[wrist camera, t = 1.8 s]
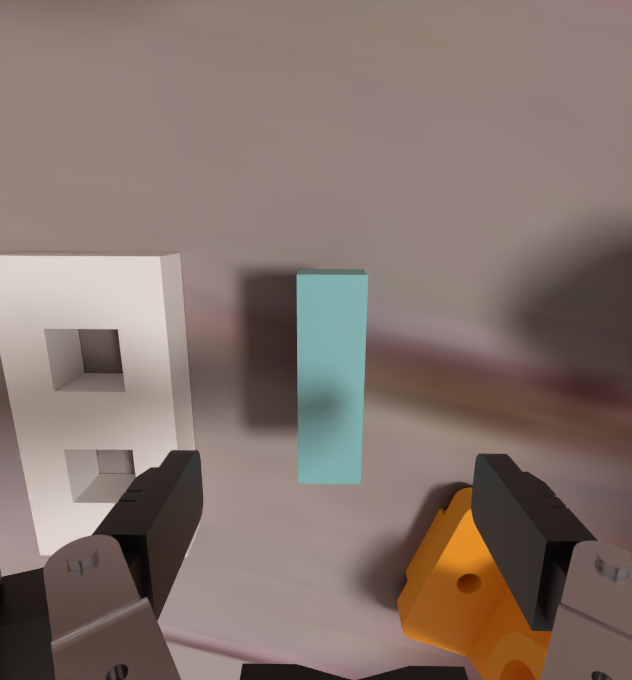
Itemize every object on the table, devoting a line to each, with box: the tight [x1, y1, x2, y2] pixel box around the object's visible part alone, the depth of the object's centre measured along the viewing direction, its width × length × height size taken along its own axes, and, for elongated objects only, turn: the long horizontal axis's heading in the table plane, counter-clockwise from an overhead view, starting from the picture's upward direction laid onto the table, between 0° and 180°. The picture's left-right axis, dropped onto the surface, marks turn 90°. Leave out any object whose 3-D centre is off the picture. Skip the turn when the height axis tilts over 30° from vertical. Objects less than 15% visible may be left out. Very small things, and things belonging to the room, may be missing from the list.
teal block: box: [297, 269, 368, 484], centre depth 22 cm, size 10×3×6 cm, turn 0°
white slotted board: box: [0, 252, 201, 557], centre depth 24 cm, size 18×9×3 cm, turn 0°
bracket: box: [397, 488, 552, 680], centre depth 23 cm, size 11×7×12 cm, turn 159°
